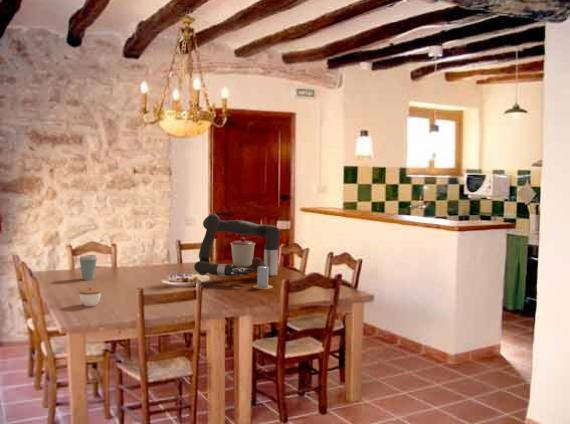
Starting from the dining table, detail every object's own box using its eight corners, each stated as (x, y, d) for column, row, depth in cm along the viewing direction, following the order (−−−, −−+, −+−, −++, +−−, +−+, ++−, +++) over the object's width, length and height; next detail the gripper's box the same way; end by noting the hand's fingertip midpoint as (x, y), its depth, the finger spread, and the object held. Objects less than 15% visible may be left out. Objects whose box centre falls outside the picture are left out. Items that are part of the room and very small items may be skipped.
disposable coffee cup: (78, 280, 370) (78, 256, 369) (80, 277, 381) (80, 254, 379) (96, 280, 372) (96, 256, 371) (97, 277, 383) (97, 253, 382)
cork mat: (256, 284, 371) (256, 284, 371) (275, 286, 367) (275, 285, 367) (250, 288, 359) (250, 287, 359) (269, 290, 356) (269, 289, 356)
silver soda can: (259, 285, 367) (259, 265, 366) (269, 286, 365) (269, 266, 364) (256, 287, 361) (256, 267, 360) (265, 288, 359) (266, 268, 358)
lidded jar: (82, 302, 315) (82, 285, 314) (103, 302, 316) (103, 285, 315) (76, 307, 305) (76, 289, 304) (98, 307, 305) (98, 289, 305)
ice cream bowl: (264, 282, 379) (265, 258, 378) (247, 281, 381) (248, 257, 380) (268, 279, 389) (269, 256, 388) (251, 278, 391) (252, 255, 390)
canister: (260, 266, 437) (260, 237, 435) (241, 269, 423) (242, 239, 422) (243, 263, 449) (243, 235, 447) (224, 265, 436) (225, 236, 434)
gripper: (221, 266, 362) (246, 268, 358) (230, 262, 376) (254, 264, 371) (221, 278, 363) (246, 280, 358) (230, 274, 376) (254, 276, 372)
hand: (250, 272), depth 365 cm, fingers open, 8 cm apart
